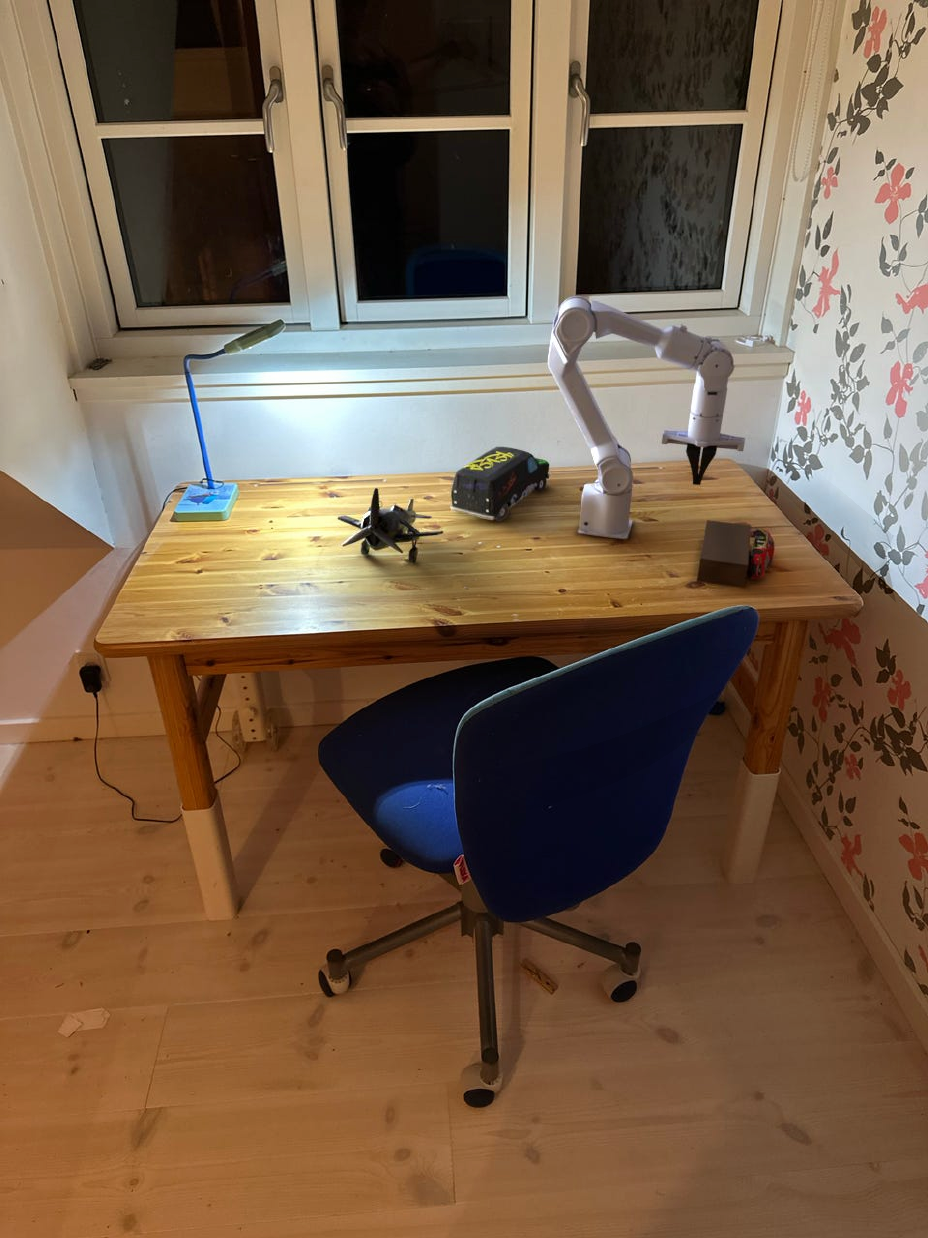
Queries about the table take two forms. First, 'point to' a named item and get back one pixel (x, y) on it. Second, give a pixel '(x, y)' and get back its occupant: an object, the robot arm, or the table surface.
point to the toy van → (497, 482)
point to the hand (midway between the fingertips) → (696, 482)
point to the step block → (724, 553)
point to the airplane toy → (387, 528)
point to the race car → (761, 553)
